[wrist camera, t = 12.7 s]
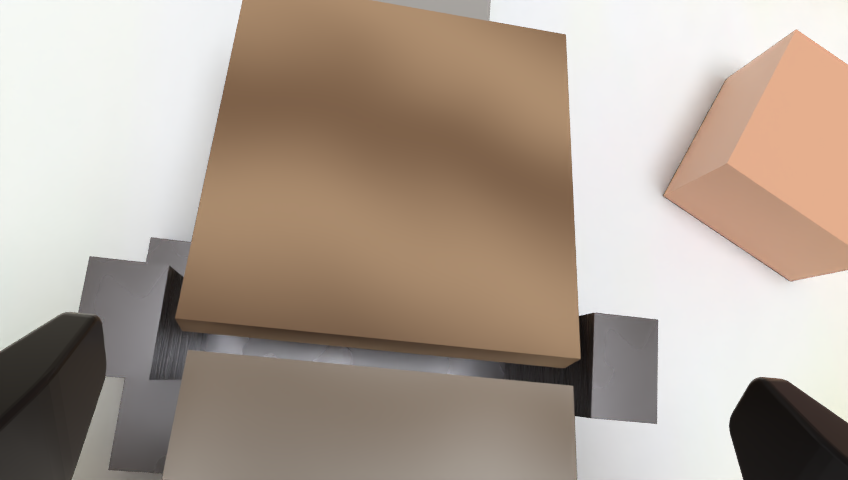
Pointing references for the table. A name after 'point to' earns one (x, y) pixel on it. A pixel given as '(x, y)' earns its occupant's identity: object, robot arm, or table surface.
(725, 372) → the table surface
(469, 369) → the trapdoor frame
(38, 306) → the table surface
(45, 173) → the table surface
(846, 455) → the robot arm
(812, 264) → the plinth
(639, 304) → the table surface
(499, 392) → the trapdoor
